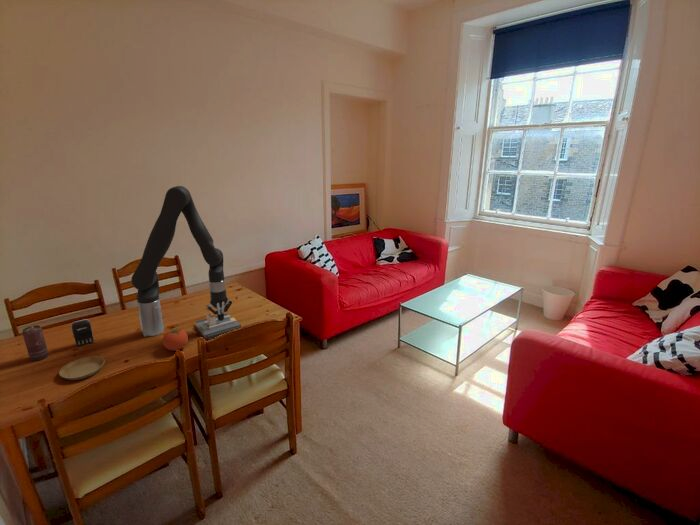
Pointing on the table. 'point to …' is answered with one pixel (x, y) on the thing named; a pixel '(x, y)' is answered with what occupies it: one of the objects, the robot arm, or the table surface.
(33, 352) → the can
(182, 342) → the tomato
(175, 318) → the table surface
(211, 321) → the breaker lever
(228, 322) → the panel
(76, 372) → the plant saucer
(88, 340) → the battery charger
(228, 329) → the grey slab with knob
